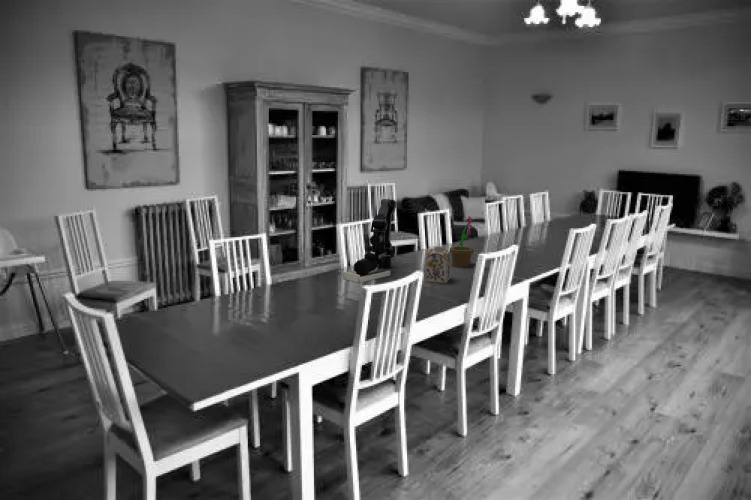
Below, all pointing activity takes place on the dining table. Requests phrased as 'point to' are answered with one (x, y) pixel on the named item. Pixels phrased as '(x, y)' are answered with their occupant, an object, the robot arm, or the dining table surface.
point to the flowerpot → (462, 250)
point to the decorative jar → (438, 265)
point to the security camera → (365, 266)
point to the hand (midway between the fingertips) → (380, 268)
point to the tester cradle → (356, 278)
